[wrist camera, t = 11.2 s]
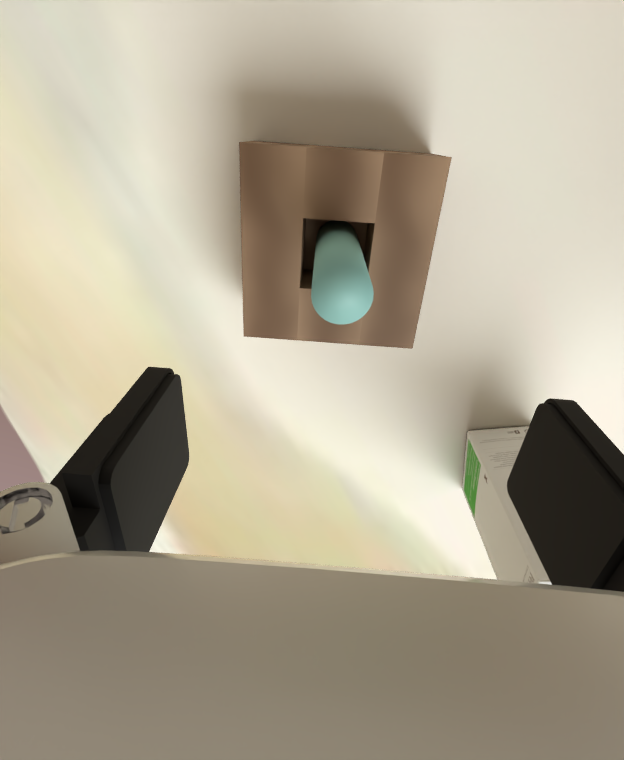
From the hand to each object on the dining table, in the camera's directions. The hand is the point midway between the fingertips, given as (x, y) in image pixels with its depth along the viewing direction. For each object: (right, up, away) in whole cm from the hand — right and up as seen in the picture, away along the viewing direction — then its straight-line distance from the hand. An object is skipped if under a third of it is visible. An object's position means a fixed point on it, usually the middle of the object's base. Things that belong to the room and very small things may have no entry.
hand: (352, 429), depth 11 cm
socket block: (+1, +12, +20) cm, 24 cm away
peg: (+1, +11, +19) cm, 23 cm away
